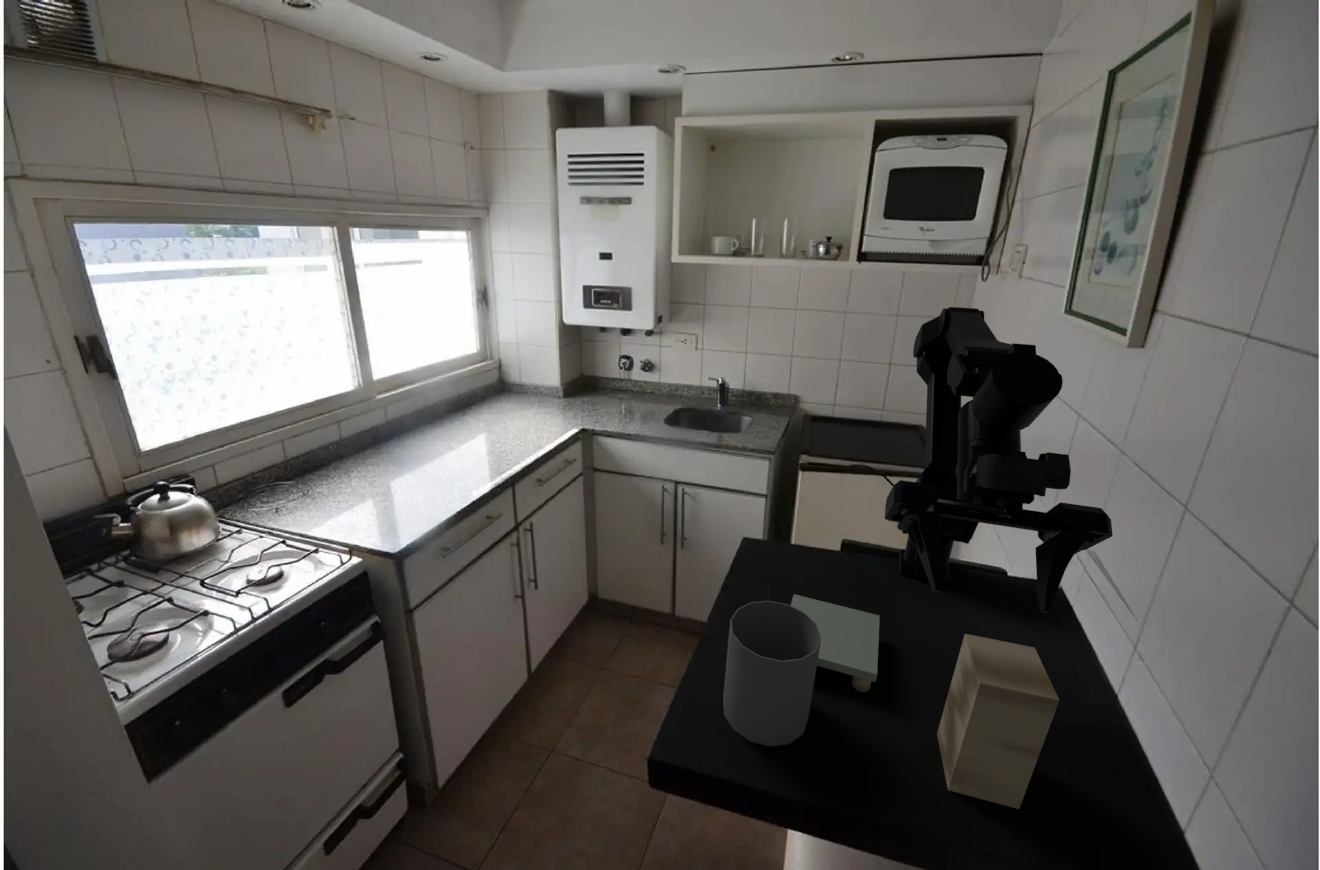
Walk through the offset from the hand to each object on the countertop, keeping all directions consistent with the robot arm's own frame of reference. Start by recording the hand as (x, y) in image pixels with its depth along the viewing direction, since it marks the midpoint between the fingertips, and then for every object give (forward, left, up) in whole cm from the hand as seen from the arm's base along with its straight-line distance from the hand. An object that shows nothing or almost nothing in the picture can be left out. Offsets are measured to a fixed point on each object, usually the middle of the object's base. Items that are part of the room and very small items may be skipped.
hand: (989, 601), depth 52 cm
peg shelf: (-3, -13, -13) cm, 19 cm away
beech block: (+7, +1, -13) cm, 15 cm away
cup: (+8, -18, -13) cm, 24 cm away
